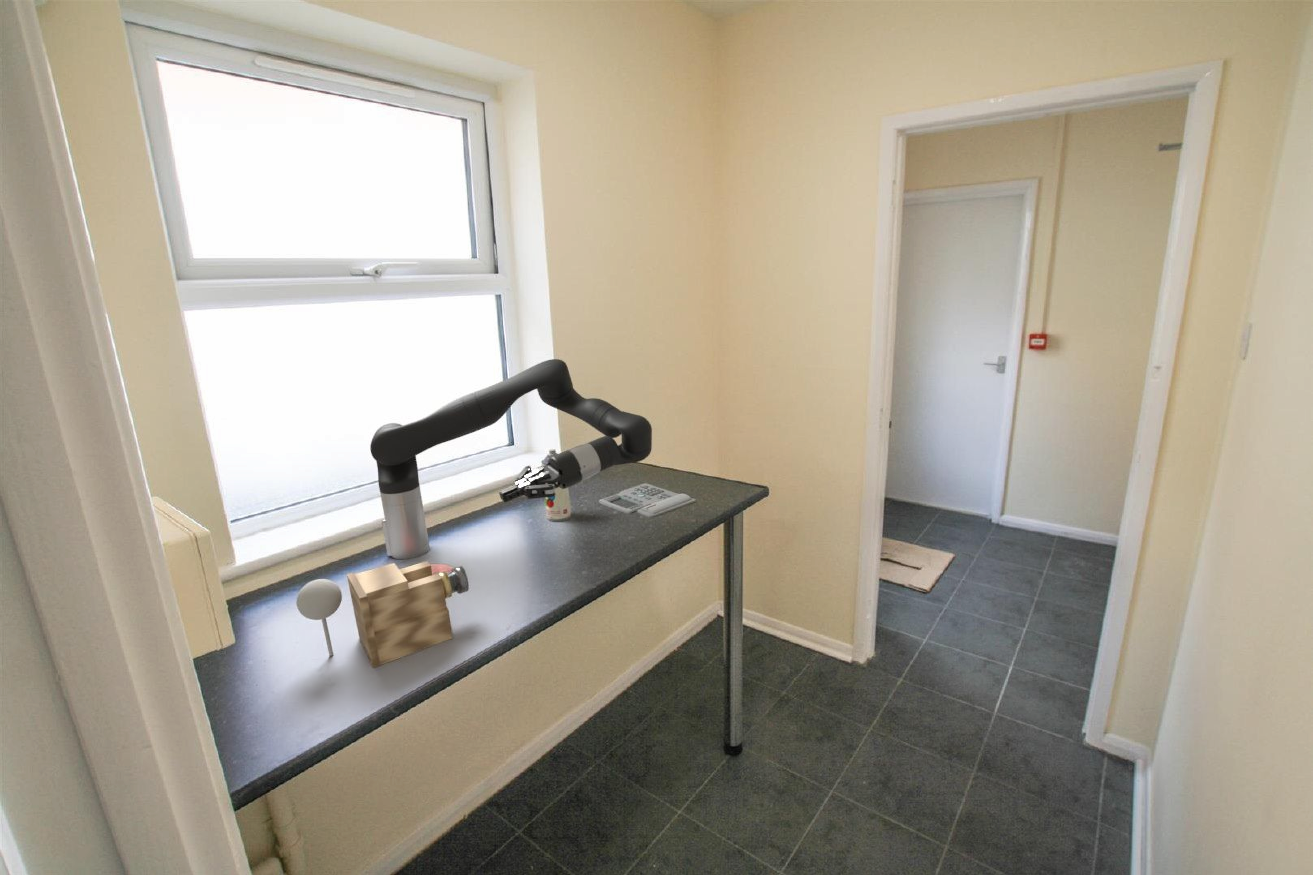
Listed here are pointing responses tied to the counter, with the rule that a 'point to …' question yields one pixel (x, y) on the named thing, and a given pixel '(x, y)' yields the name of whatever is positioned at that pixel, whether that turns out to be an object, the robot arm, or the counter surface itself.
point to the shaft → (454, 581)
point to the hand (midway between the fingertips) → (501, 497)
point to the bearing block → (399, 610)
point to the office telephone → (648, 500)
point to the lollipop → (320, 603)
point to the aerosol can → (557, 499)
